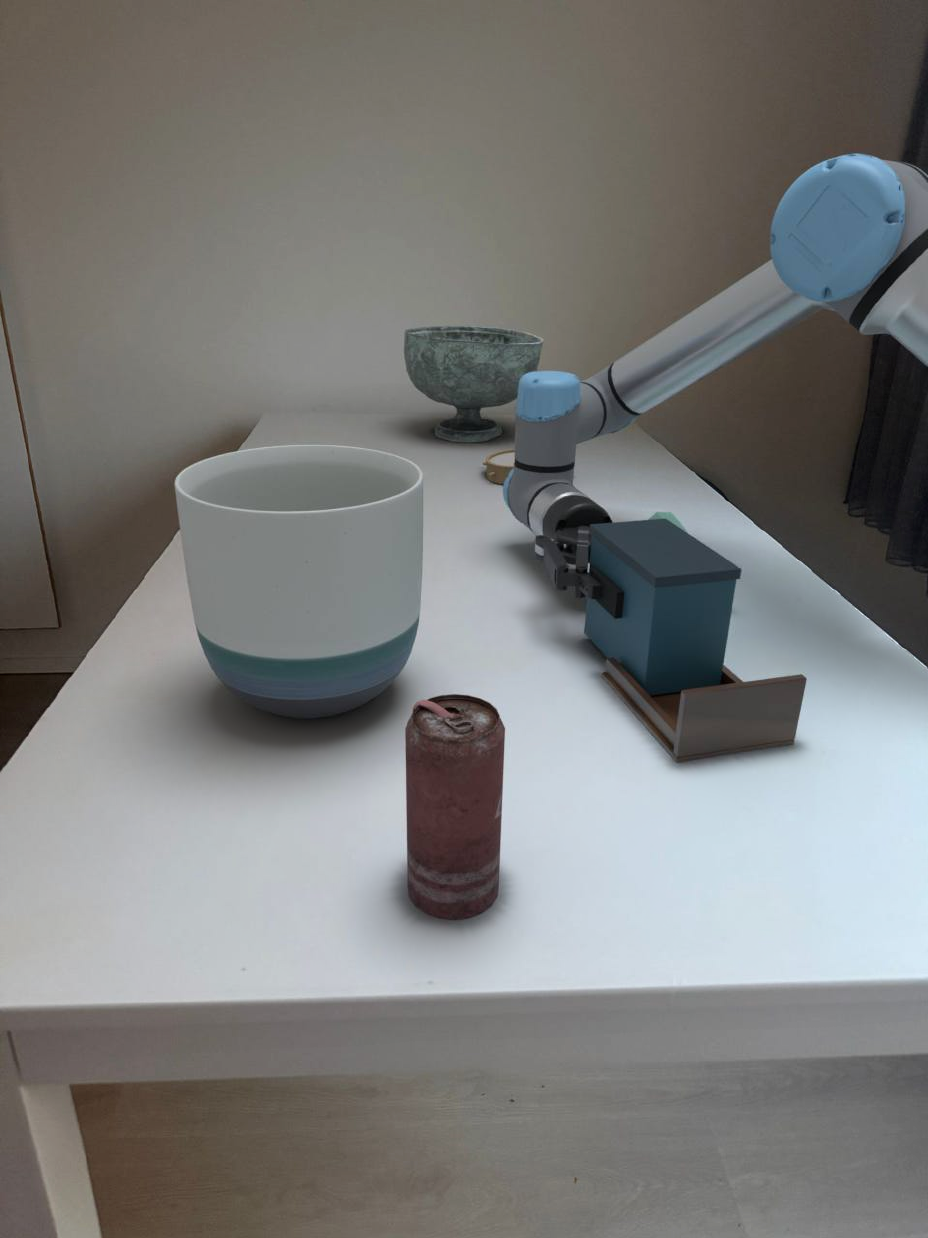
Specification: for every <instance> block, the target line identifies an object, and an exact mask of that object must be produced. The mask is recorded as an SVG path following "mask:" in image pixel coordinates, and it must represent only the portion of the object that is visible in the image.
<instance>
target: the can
mask: <svg viewBox="0 0 928 1238" xmlns="http://www.w3.org/2000/svg"><path fill="white" fill-rule="evenodd" d="M404 730H405V732H404V734H405V735H404V736H405V738H404V739H405V742H404V743H405V801H406V803H405V804H406V805H405V806H406V809H405V811H406V863H407V865H406V872H407V873H406V876H407V878H406V879H407V881H406V883H407V892H408V897H409V898H410V900H411V901H412V903H413V904H414V906H415V907H416V908H417V909H419V910H421V912H424V913H425V914H426V915H429V916H432V917H434V918H438V919H443V920H453V921H457V920H465V919H470V918H472V917H475V916H478V915H480V914H482V913H483V912H485V911H486V910H488V909H489V908H490V907H492V906H493V904H494V903H495V900H496V899H497V898H498V896H499V887H500V868H501V867H500V866H501V864H500V863H501V844H502V843H501V840H502V839H501V838H502V818H503V817H502V816H503V813H502V812H503V791H504V790H503V789H504V769H505V768H504V767H505V766H504V764H505V742H506V727H505V725H504V722H503V720H502V718H501V715H500V712H499V711H498V709H497V708H496V707H495V706H494V705H493V704H492V703H491V702H489V701H487V700H485V699H483V698H482V697H481V698H480V697H477V696H474V695H473V696H472V695H468V694H460V693H459V694H458V693H450V694H441V695H437V696H432V697H429V698H427V699H425V698H423V699H420V700H419V701H416V702H415V704H414V705H413V707H412V712H411V714H410V717H409V718H408V720H407V723H406V726H405V729H404Z"/></svg>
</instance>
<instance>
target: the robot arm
mask: <svg viewBox="0 0 928 1238" xmlns="http://www.w3.org/2000/svg"><path fill="white" fill-rule="evenodd" d="M769 233H770V236H769V242H770V243H769V244H770V245H769V251H770V256H771V259H770V260H768V261H766V262H765V263H763V264H762V265H761V266H759V267H758V268H756V269H755V270H753V271H751V272H750V273H749V274H747V275H745V276H744V277H742V278H740V279H739V280H738V281H736V282H735V283H733V284H731V285H730V286H729V287H727V288H725V289H724V290H722V291H721V292H719V293H718V294H716V295H715V296H714V297H712V298H710V299H709V300H707V301H706V302H704V303H702V304H701V305H699V306H698V307H697V308H695V309H693V310H692V311H690V312H689V313H688V314H686V315H684V316H683V317H681V318H679V319H678V320H677V321H674V322H673V323H672V324H670V325H669V326H667V327H666V328H664V329H662V330H661V331H659V332H658V333H657V334H655V335H654V336H652V337H650V338H649V339H647V340H646V341H644V342H643V343H641V344H639V346H637V347H635V348H634V349H632V350H631V351H629V352H627V353H625V355H622V357H620V358H618V359H617V360H615V361H614V362H613V363H611V364H610V365H607V366H606V367H605V368H603V369H602V370H600V371H599V372H597V373H595V374H594V375H592V376H591V377H588V378H586V379H583V380H580V379H579V378H578V375H576V374H574V373H571V372H567V371H558V370H539V371H535V372H529V373H527V374H525V375H523V376H522V377H521V379H520V381H519V386H518V396H517V399H516V403H515V407H514V410H515V411H514V412H515V424H514V425H515V428H514V429H515V430H514V449H515V462H514V468H513V469H512V470H511V471H510V473H509V475H508V476H507V478H506V480H505V482H504V484H503V485H502V496H503V500H504V503H505V505H506V506H507V508H508V510H509V511H510V512H511V513H512V516H513V517H514V518H515V519H516V520H517V521H518V522H519V523H520V524H522V525H524V526H525V527H526V528H527V529H529V531H530V532H532V533H533V535H535V543H534V544H535V545H534V559H535V560H536V561H538V562H539V563H541V564H542V565H543V566H544V568H545V571H546V572H547V574H548V577H549V579H550V581H551V583H552V585H553V587H554V588H555V590H557V591H560V592H562V591H566V590H568V587H573V597H574V598H576V599H584V598H587V597H588V598H590V599H595V600H596V601H597V602H598V603H599V604H600V605H601V606H602V607H603V608H604V609H605V610H606V611H607V612H608V613H609V614H610V615H611V616H612V617H613V618H614V619H618V618H622V612H623V601H624V591H623V590H622V589H621V588H619V587H618V586H617V585H616V584H615V583H614V582H613V581H612V580H611V579H609V578H608V577H607V576H606V575H605V574H604V573H603V572H602V571H600V570H599V569H598V568H597V567H591V568H590V569H589V564H590V553H591V541H592V536H591V535H590V534H589V531H590V524H602V523H614V522H613V520H612V517H611V516H610V514H609V513H608V512H607V510H606V509H605V508H603V506H601V505H600V504H598V503H597V502H596V501H594V500H593V499H591V497H590V496H588V495H587V494H585V493H584V492H582V491H581V490H580V489H578V488H576V487H575V486H574V473H575V464H576V455H577V454H576V451H577V445H579V444H581V443H584V442H586V441H590V440H592V439H595V438H598V437H601V436H605V435H607V434H608V435H609V434H614V433H617V432H619V431H621V430H623V429H625V428H626V427H628V426H630V425H632V423H634V422H635V421H636V420H637V418H638V417H640V416H641V415H643V414H644V413H646V412H648V411H649V410H651V409H652V408H655V407H656V406H659V405H660V404H661V403H663V402H665V401H667V400H668V399H670V398H671V397H673V396H676V395H677V394H679V393H680V392H682V391H684V390H686V389H688V388H689V387H690V386H693V385H695V384H697V382H699V381H701V380H703V379H704V378H707V377H708V376H709V375H711V374H713V373H715V372H717V371H719V370H720V369H721V368H723V367H725V366H727V365H729V364H731V363H732V362H733V361H736V360H737V359H739V358H740V357H742V356H744V355H746V354H748V353H749V352H751V351H753V350H754V349H756V348H757V347H760V346H761V345H763V344H765V343H767V342H768V341H770V340H772V339H773V338H775V337H777V336H778V335H780V334H782V333H784V332H785V331H787V330H789V329H791V328H792V327H794V326H795V325H798V324H799V323H801V322H803V321H804V320H806V319H808V318H810V317H811V316H813V315H815V314H816V313H818V312H820V311H822V310H828V311H833V312H836V313H837V314H838V315H839V316H841V317H842V318H843V319H844V320H845V321H846V322H847V323H848V324H850V325H851V326H852V327H853V328H854V329H855V330H857V331H858V332H859V333H860V334H861V335H862V336H868V335H880V334H881V335H883V334H884V335H885V334H886V335H890V336H892V337H893V338H894V339H895V340H896V341H897V342H898V343H900V344H901V345H902V346H903V347H904V348H905V349H906V350H907V351H909V353H911V354H912V355H913V356H914V357H916V358H917V359H918V360H919V361H920V362H921V363H922V364H923V365H925V367H927V368H928V174H927V173H926V172H924V171H923V170H922V169H921V168H919V167H917V166H916V165H913V164H911V163H908V162H904V161H899V160H887V159H881V158H879V157H876V156H874V155H870V154H865V153H851V154H843V155H839V156H837V157H832V158H829V159H826V160H824V161H820V162H819V163H817V164H815V165H813V166H811V167H810V168H809V169H807V170H806V171H804V172H803V173H802V174H801V175H800V176H799V177H798V178H797V179H795V181H793V183H791V185H790V186H789V187H788V189H787V190H786V191H785V193H784V194H783V196H782V198H781V199H780V201H779V202H778V205H777V208H776V210H775V212H774V214H773V218H772V222H771V226H770V232H769ZM569 565H571V566H575V568H569V567H570V566H569Z"/></svg>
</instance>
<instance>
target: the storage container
mask: <svg viewBox="0 0 928 1238" xmlns="http://www.w3.org/2000/svg"><path fill="white" fill-rule="evenodd" d="M687 532H688V531H687ZM687 532H685V531H684V530H682V529H681V528H679V527H678V526H676V525H675V524H673V523H672V522H670V521H669V520H667V519H666V518H664V519H652V520H648V519H642V520H630V521H629V520H628V521H616V522H613V523H602V524H590V531H589V534H590V535H591V536H592V541H591V553H590V563H589V564H588V570H589V569H590V568H591V567H597V568H598V569H599V570H600V571H602V572H603V573H604V574H605V575H606V576H607V577H608V578H609V579H611V580H612V581H613V582H614V583H615V584H616V585H617V586H618V587H619V588H621V589H622V590H623V591H624V601H623V612H622V618H618V619H614V618H613V617H612V616H611V615H610V614H609V613H608V612H607V611H606V610H605V609H604V608H603V607H602V606H601V605H600V604H599V603H598V602H597V601H596V600H595V599H590V598H588V597H587V596H586V604H585V605H586V606H585V617H584V629H583V634H584V635H585V636H586V637H588V639H589V640H590V641H591V642H592V643H593V644H594V645H595V646H596V648H597V649H599V651H600V652H601V653H602V655H604V656H605V657H606V659H607V658H612V657H614V658H615V659H616V660H617V661H618V662H619V663H620V664H621V665H622V667H623V668H624V669H625V670H626V671H627V672H628V673H629V674H630V675H631V676H632V677H633V678H634V679H635V680H636V681H637V682H638V684H639V685H640V686H641V687H642V688H643V689H644V690H645V691H646V692H647V693H648V694H649V695H650V696H652V695H660V694H667V693H674V692H681V691H682V690H688V689H695V688H703V687H710V686H718V685H720V683H721V676H722V670H723V665H724V662H725V656H726V651H727V643H728V636H729V631H730V624H731V617H732V611H733V604H734V597H735V592H736V585H737V580H741V575H742V570H743V569H742V568H741V567H739V566H738V565H736V564H735V563H733V562H732V561H730V560H729V559H727V558H726V557H724V556H723V555H721V554H719V553H718V552H717V551H715V550H714V549H712V548H711V547H710V546H709V545H708V546H707V545H706V544H705V543H703V542H702V541H700V540H699V539H698V538H695V537H694V536H693V535H691V534H690V533H689V532H688V533H687Z"/></svg>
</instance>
